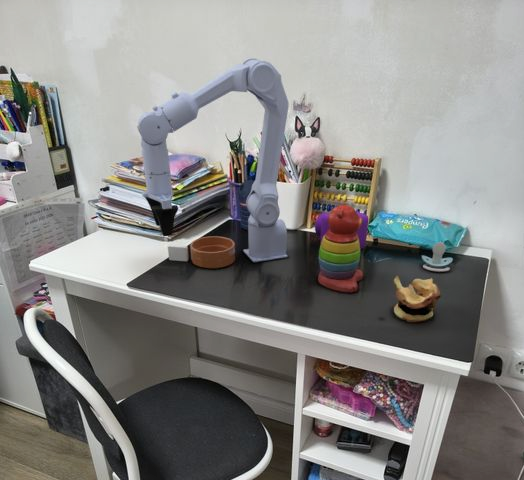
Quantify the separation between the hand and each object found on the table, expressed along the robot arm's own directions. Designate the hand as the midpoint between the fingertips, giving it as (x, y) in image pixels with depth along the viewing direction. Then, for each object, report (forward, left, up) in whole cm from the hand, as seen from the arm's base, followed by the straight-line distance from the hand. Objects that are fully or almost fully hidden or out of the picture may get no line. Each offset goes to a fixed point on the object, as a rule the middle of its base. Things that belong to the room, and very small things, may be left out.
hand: (164, 230), depth 119 cm
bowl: (-11, +1, -9) cm, 15 cm away
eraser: (-3, -3, -9) cm, 10 cm away
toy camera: (-45, +4, -9) cm, 47 cm away
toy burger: (-42, +42, -9) cm, 61 cm away
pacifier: (-61, +25, -9) cm, 67 cm away
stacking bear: (-35, +23, -9) cm, 43 cm away
